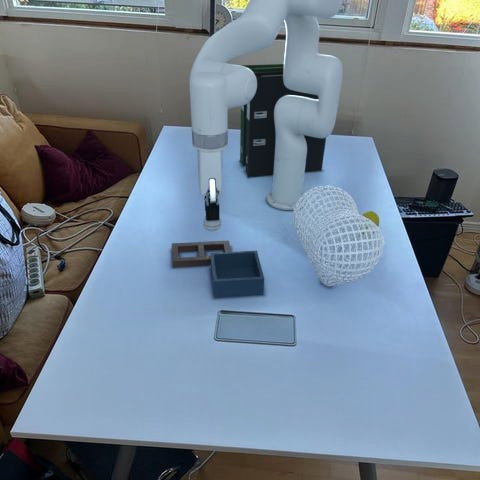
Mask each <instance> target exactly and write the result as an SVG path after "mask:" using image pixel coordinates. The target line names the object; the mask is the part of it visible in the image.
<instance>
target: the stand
mask: <svg viewBox="0 0 480 480" xmlns="http://www.w3.org/2000/svg"><path fill="white" fill-rule="evenodd" d="M211 251H213V252H214V251H223V252H232V249H231V245H230V240H212V241H210V240H209V241H194V242H193V241H191V242H174V243H171V263H172V268H173V269H174V268H191V267H192V268H193V267H206V266H207V267H208V266H211V261H210V255H206V254H205V253H206V252H211ZM192 252H197V254H198V256H183V257H182V256H181V257H179V256H180V255H179V253H192Z"/></svg>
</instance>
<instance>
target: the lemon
mask: <svg viewBox="0 0 480 480" xmlns="http://www.w3.org/2000/svg"><path fill="white" fill-rule="evenodd" d="M361 216H364V217H366V218H368V219H370V220H371V221H372V222H374V223H375V224H376V225H377V226H378V228H380V217H379V215H378V214H377V213H376V212H374V211H373V210H369V211H366V212H364V213H363V214H362V215H361ZM366 221H367V220H366ZM365 225H366V224H365ZM369 226H370V224H369ZM365 228H366V230H367V227H365ZM360 230H361V228H360ZM369 233H370V232H369ZM373 234H374V235H375V233H374V231H373ZM362 235H363V236H364V232H362ZM367 236H368V234H367ZM365 237H366V235H365ZM369 237H371V235H369Z"/></svg>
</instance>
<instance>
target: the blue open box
mask: <svg viewBox="0 0 480 480" xmlns="http://www.w3.org/2000/svg"><path fill="white" fill-rule="evenodd" d="M209 256H210V261H211V265H210V274H211V282H212V290H213V298H214V299H222V298H239V297H255V296H257V297H258V296H264V289H265V276H264V272H263V268H262V264H261V259H260V256H259V253H258V250H241V251H231V252H224V251H223V252H221V251H219V252H210V253H209Z"/></svg>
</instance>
